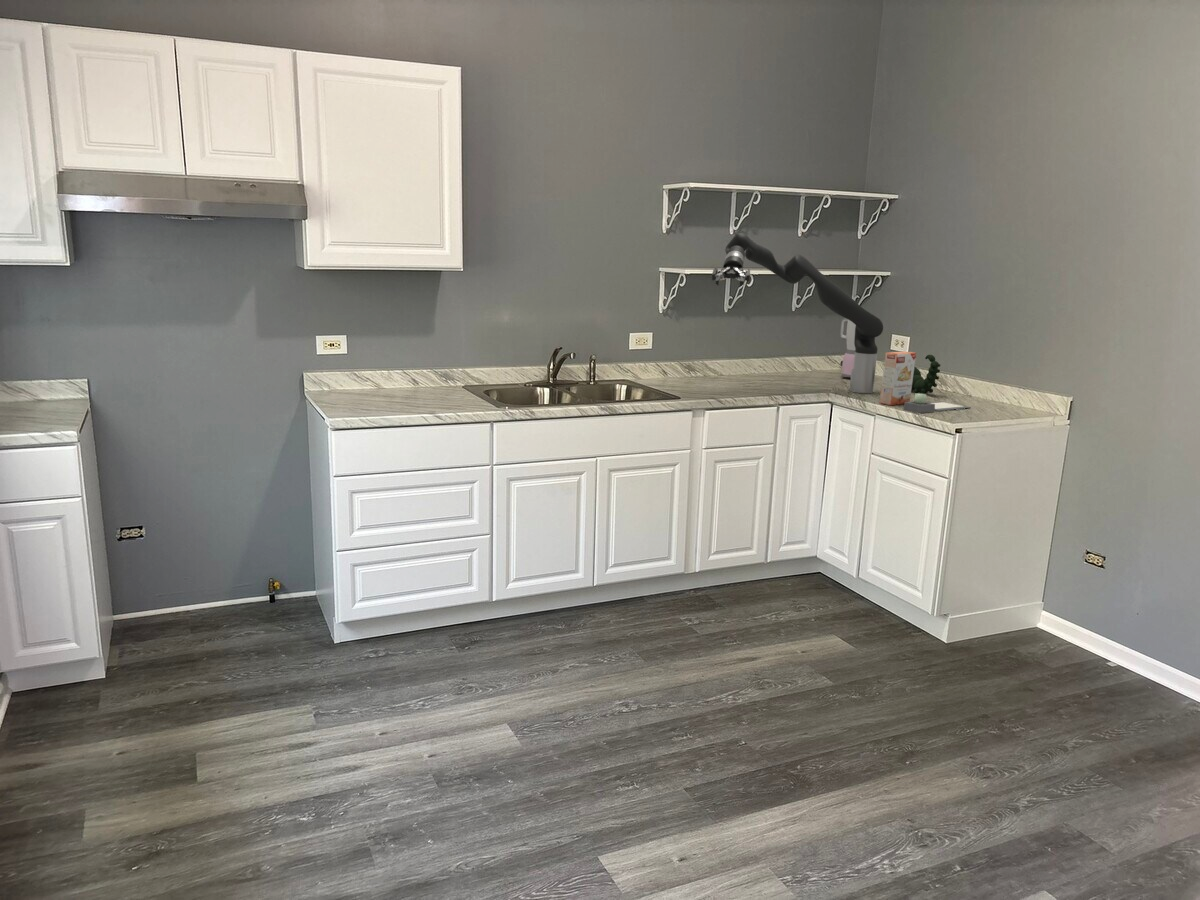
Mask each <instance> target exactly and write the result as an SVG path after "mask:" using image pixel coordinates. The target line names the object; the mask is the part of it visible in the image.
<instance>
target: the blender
mask: <svg viewBox="0 0 1200 900" xmlns="http://www.w3.org/2000/svg"><path fill="white" fill-rule="evenodd" d="M846 322H847V325H846V334H845V335H844V332H845V331H844V330H845V323H846ZM855 327H856V325H855V324H854V323H853V322H851V321H850V320H848V319H846V318H844V317H843V318H842V319H841V321H840V328H839V337H840V338H841V339H843V340H846V351H845V353H844V355H843V357H842V360H841V361H840V364H839V365H840V366H841V367H842V368H841V373H840V375H841V376H840V377H841V379H844V377H845V378H846V377H847V378H851V370H852V369H853V368H854V358H855V345H854V339H855Z"/></svg>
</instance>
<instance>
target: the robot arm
mask: <svg viewBox="0 0 1200 900" xmlns="http://www.w3.org/2000/svg"><path fill="white" fill-rule="evenodd" d="M724 250H725V253H726V256H725V258H724V262H723V265H722V268H721V269H718V267H713V271H712V273H711V281H714V283H715V285H716V286H720V283H721V281H724V280H727V279H735V280H737V281H739V287H742V286H743V285H744V284H745V282H750V281H751V268H749V267H748V268H746V270H744V264H745V259H747V260H748V261H750V262H752V263H755V264H757V265H759V266H762V267H763V268H765V269H767V270H769V271H770V272H771V273H773V274H774V275H776V276H777V277H779V278H780V279H782V280H783V281H785V282H787V283H789V284H793V285H795V284H798V283H799V282H800V281H801V280H802V279H803V278H804V277H806V276H807V278H809V279H810V280H812V282H813V283H814V285H815V288H816V291H817V296H818V298H819V299H818V300H819V301H820V302H821V303H822V305H824V306H825V307H826V308H828V309H829V310H830V311H832V312H834V313H835V314H836V315H839V316H841V317H842V318H843V319H844V318H846V319H848V320H850V321H851V322H853V323H854V324H855V325H856V327H855V339H854V345H855V358H854V368H853V369H852V370H851V377H850V381H849V391H850V392H853V393H857V394H873V393H874V387H875V385H874V384H875V377H876V367H877V358H878V346H877V344H876V342H875V341H876V339H875V338H878V337H879V336H881V335H882V333H883V331H884V325H883V321H882V320H881V318H879V317H878V316H876V315H874V314H873V313H872V312H870V311H868V310H866V309H865V308H863V307H862V306H861V305H860V304H859V303H858V302H856V300H855V299H854V298H853V297H851V296H850V295H849V294H848V293H846V291H844V290H843V289H842V288H840V286H838V285H836V284H835V283H834V282H833V281H831V280H830V279H829V278H828V277H826V276H825V275H824V274H823V273H822V272H821V271H820V270H819V269H818V268H817V267H816V266H815V265H813V263H812V262H810V261H809V260H808V259H807V258H806V257H804V256H803V255H801V254H795V255H794V256H793V257H792V258H790V259H789V260H788V261H787V262H786V263H785V264H784V265H782V264H779V263H778V262H777V260H776V258H775V256H774V253H773V252H772V251H771V250H770V249H769V248H767V247H764V246H762V245H760V244H757V243H756V242H755V241H754V240H753V239H751V238H750V237H749V235H747V234H746V233H744V232H738V233H736V234H735V235H734V236H733V237H732V239H731V240H729V242H728V244H727V245H726V246H725V249H724Z"/></svg>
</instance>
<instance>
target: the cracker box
mask: <svg viewBox="0 0 1200 900" xmlns="http://www.w3.org/2000/svg"><path fill="white" fill-rule="evenodd" d="M884 355H885V356H884V361H883V362H884V364H883V370H882V371H883V372H882V377H881V378H882V379H881V388H880V394H879V395H880V397H879V404H882V405H887V406H895V405H896V404H897V405H903V404H904V402H911V395H912V391H911V389H912V381H913V374H914V367H916V359H917V352H914V351H892V352H885V354H884Z"/></svg>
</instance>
